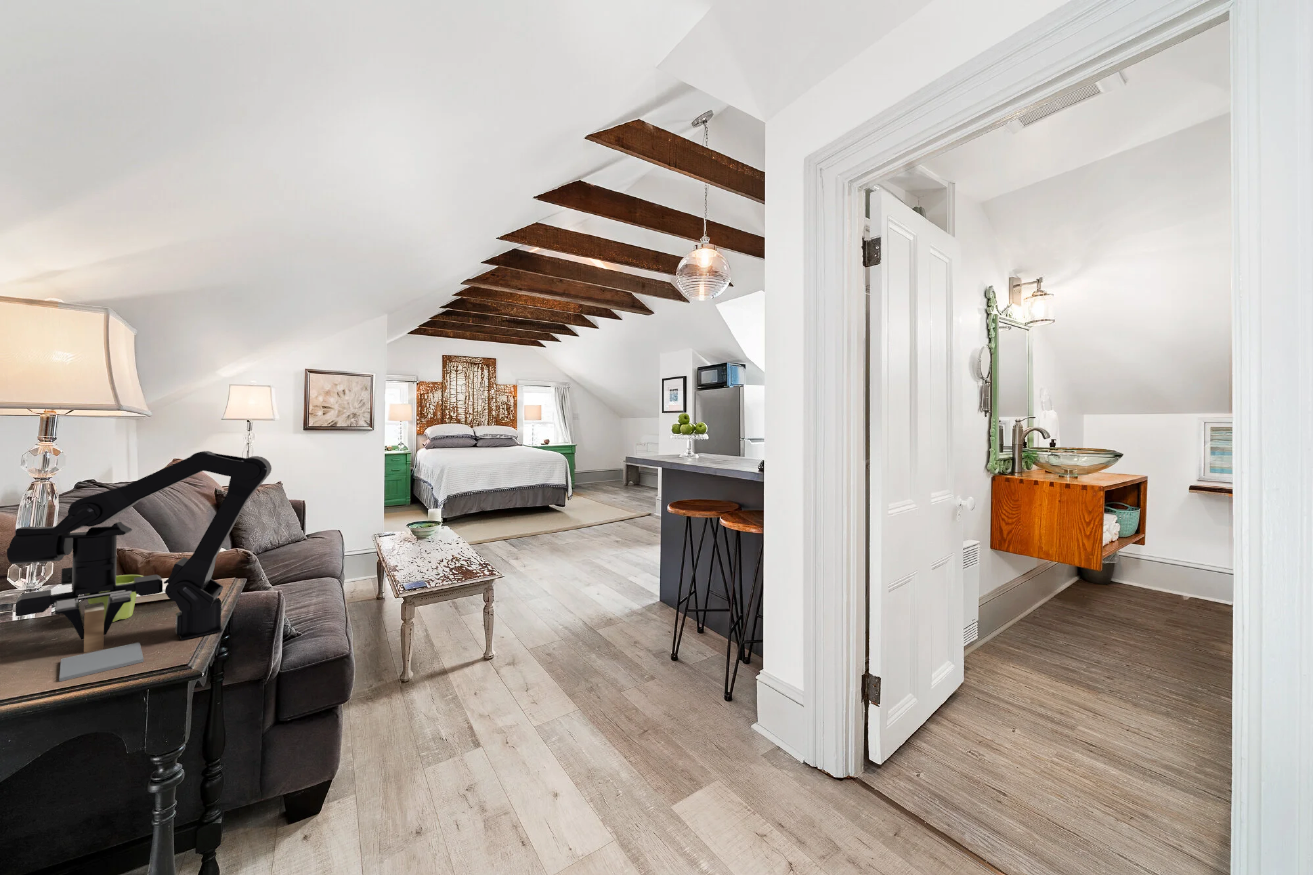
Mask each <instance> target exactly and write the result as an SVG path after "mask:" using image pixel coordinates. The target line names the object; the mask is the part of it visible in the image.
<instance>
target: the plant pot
mask: <svg viewBox="0 0 1313 875" xmlns="http://www.w3.org/2000/svg"><path fill="white" fill-rule="evenodd" d="M143 576H144V575H141V574H123V575H122V574H120V575H116V585H121V584H127V583H134V578H136V577H143ZM109 591H110V590H109ZM109 591H108V592H109ZM103 592H107V591H103ZM99 593H101V592H99ZM86 595H89V594H86ZM130 596H131V602H127V603H124V604H123V605H122V607H121V608H120V610H119V611H118V613H117V614H116V616H115V618H114V619H113V622H112V623H114V622H115V623H116V621H118V620H119V621H120V620H126V619H129V618H131V617H132V616H133V614H134V609H135V604H136V600H137V596H138V594H136V592H132V594H130ZM108 597H109V596H104V597H98V598H92V599H87V602H88V604H94V603H100V602H103V603H104V619H105V614H106V609H107V604H108ZM88 604H87V605H88Z"/></svg>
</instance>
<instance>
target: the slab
mask: <svg viewBox="0 0 1313 875" xmlns="http://www.w3.org/2000/svg"><path fill="white" fill-rule="evenodd" d="M83 606H84V608H83V609H84V611H83V612H84V615H83V626H84V639H83V654H86V653H91V652H95V651H100V650H104V642H105V640H104V637H105V635H104V603H103V602H100V603H94V604H84V605H83Z"/></svg>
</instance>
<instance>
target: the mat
mask: <svg viewBox="0 0 1313 875" xmlns="http://www.w3.org/2000/svg"><path fill="white" fill-rule="evenodd" d="M140 663H144V655H143V650H142V647H141V642H134V643H129V644H125V645H124V644H123V645H120V646H115V647H111V648H106V649H100V650H95V651H91V652H86V653H83V654H82V653H81V654H77V655H73V656H68V657H64V658H60V667H59V678H58V679H59V680H58V681H59V682H64V681H68V680H72V679H76V678H81V677H85V676H89V675H93V674H97V673H101V672H106V671H110V670H114V669H118V668H123V667H126V666H127V667H128V666H130V665H135V664H140Z"/></svg>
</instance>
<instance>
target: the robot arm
mask: <svg viewBox="0 0 1313 875" xmlns="http://www.w3.org/2000/svg"><path fill="white" fill-rule="evenodd" d="M202 472H209V473H211V474H217V475H221V476H224V477H225V476H226V477H230V478H229V482H228V487H227V492H226V495H225V497H224V499H223V501H222V503H221V504H220V505H219V508H218V509H217V511H216V513H215V514H214V516H213V518H212V520H211V522H210V523H209V526H208V527H207V529H206V531H205V532H204V534H203V536H202V538H201V540H200V542H199V543H198V545H197V546H196V548H195V550H194V552H193V554H192V555H191V556H190V557H189V558H186V557H184V556H183V557H182V558H181V559H180V560H178V561H177V562H176V563H175V564H174V565H173V568H172V570H171V573H170V574H169V577H168V578H167V579H166V580H165V581H163V579H162V577H161V576H160V575H158V574H151V575H142V576H143V577H136V578H134V583H127V584H121V585H116V576H117V557H118V556H117V552H118V551H117V544H118V543H117V542H118V541H117V540H118V538H117V537H118V536H124V535H126V534H128V533H130V532H132V530H133V529H132V528H131V527H129V526H127V525H125V524H124V523H123V522H122V521H118V522H115V523H113V524H112V525H109V526H107V525H106V526H98V525H101V524H103V523H106V522H108V521H111V520H113V519H115V518H117V517H118V516H120V515H122V514H123V513H125V512H126V511H127V510H130V509H131V508H132V507H133V506H135V505H136V504H137V503H139V502H140V501H142V500H144V499H145V498H147V497H150V496H152V495H154V494H156V493H158V492H160V491H163V490H165V489H167V488H169V487H171V486H174V485H176V484H178V483H179V482H182V481H184V480H186V479H188V478H191V477H193V476H195V475H197V474H199V473H202ZM271 473H272V465H271V463H270V461H269V460H267V459H266V458H264V457H263V456H258V455H256V456H255V455H254V456H253V455H252V456H248V457H241V456H236V455H235V456H234V455H228V454H221V453H215V452H213V451H209V450H203V451H198V452H195V453H193V454H192V455H190V456H188V457H187V458H185V459H182V460H180V461H178V462H175V463H173V464H171V465H169V466H166V467H164V468H161V469H160V470H157V471H156V472H153V473H150V474H148V475H146V476H144V477H142V478H140V479H137V480H135V481H132V482H130V483H128V484H125V485H123V486H118V487H116V488H111V489H109V490H106V491H102V492H99V493H95V494H92V495H87V496H85V497H81V498H77V499H76V500H74V501H72V503H71V504H70V505H69V507H68V510H67V515H66V516H65V517H64V518H63V519H62V520H61V521H60V522H58V524H57V525H55V526H22V527H19V528H16V529H15V530H14V531H15V532H14V534H15V535H14V536H13V537H12V539H11V541H10V543H9V546H8V548H7V549H6V556H7V561H9V564H11V565H21V564H23V565H25V564H35V563H36V564H38V563H50V562H60V561H62V560H63V559H64V557H65V556H70V554H71V553H72V566H70V567H65V568H63V567H62V568H61V576H60V577H61V579H60V582H61V583H60V585H61V586H67V585H68V586H69V585H71V591H68V592H61V593H55V594H52V589H47V590H38V591H33V592H27V593H26V592H25V593H22V594H21V595H19V596H18V597H17V599H16V603H15V617H22V616H28V615H35V614H40V613H41V614H42V613H44V612H45V611H46V610H48V609H49V608H50V607H51V606H53V607H55V608H54V614H55V615H61V614H63V615H64V616H65V617H66V619H67V620H68V621H69V622H70V623H71V624H72V626H73V628H74V629H75V631H76V634H78V637H79V639H80V640H84V620H83V617H82V610H81V605H80V601H83V600H88V599H92V598H98V597H104V596H109V597H108V604H107V609H106V614H105V619H104V636H106V635H107V633H108V632H109V630H110V627H111V625H112V623H114V622H113V619H114V618H115V616H116V614H117V613H118V611H119V610H120V608H121V607H122V605H123V604H124V603H127V602H131V596H130V594H132V592H136V594H137V596H140V597H144V596H150V595H156V594H161V593H163V591H164V594H166V596H167V598H169V599H170V600H171V601H172V602H175V604H176V605H177V607H178V609H179V612H176V613H175V634H176V636H178V637H179V638H180V640H182V641H185V640H189V639H192V638H193V639H194V638H197V637H198V638H199V637H202V636H207V635H211V634H216V633H221V632H223V631H224V628H223V627H222V600H221V599H220V596H221V594H222V591H223V589H224V586H223V585H222V584H220V582H218V581H216V580H214V579H213V578H212V577H213V574H214V570H215V565H216V561H217V557H218V555H219V553H220V551H221V550H222V548H223V545H224V544H225V542H226V540H227V538H228V537H229V535H230V533H231V531H232V530H233V528H234V527H235V524H236V522H237V521H238V518H239V517H240V515H241V514H242V511H243V510H244V508H245V506H246V504H247V503H248V501H249V499H250V498H251V497H252V496H253V494H255V492H256V491H257V490H258V489H259V487H260V486H261V485H262V484H263V482H265V480H266V479H268V477H269V475H270V474H271ZM85 527H88V530H87V531H80V532H79V531H77V532H76V530H79V529H82V528H85ZM163 584H166V585H165V589H164V590H163V588H164V586H163ZM109 590H110V591H109ZM103 591H107V592H103ZM108 591H109V592H108ZM99 592H101V593H99ZM87 594H89V595H87Z"/></svg>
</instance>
